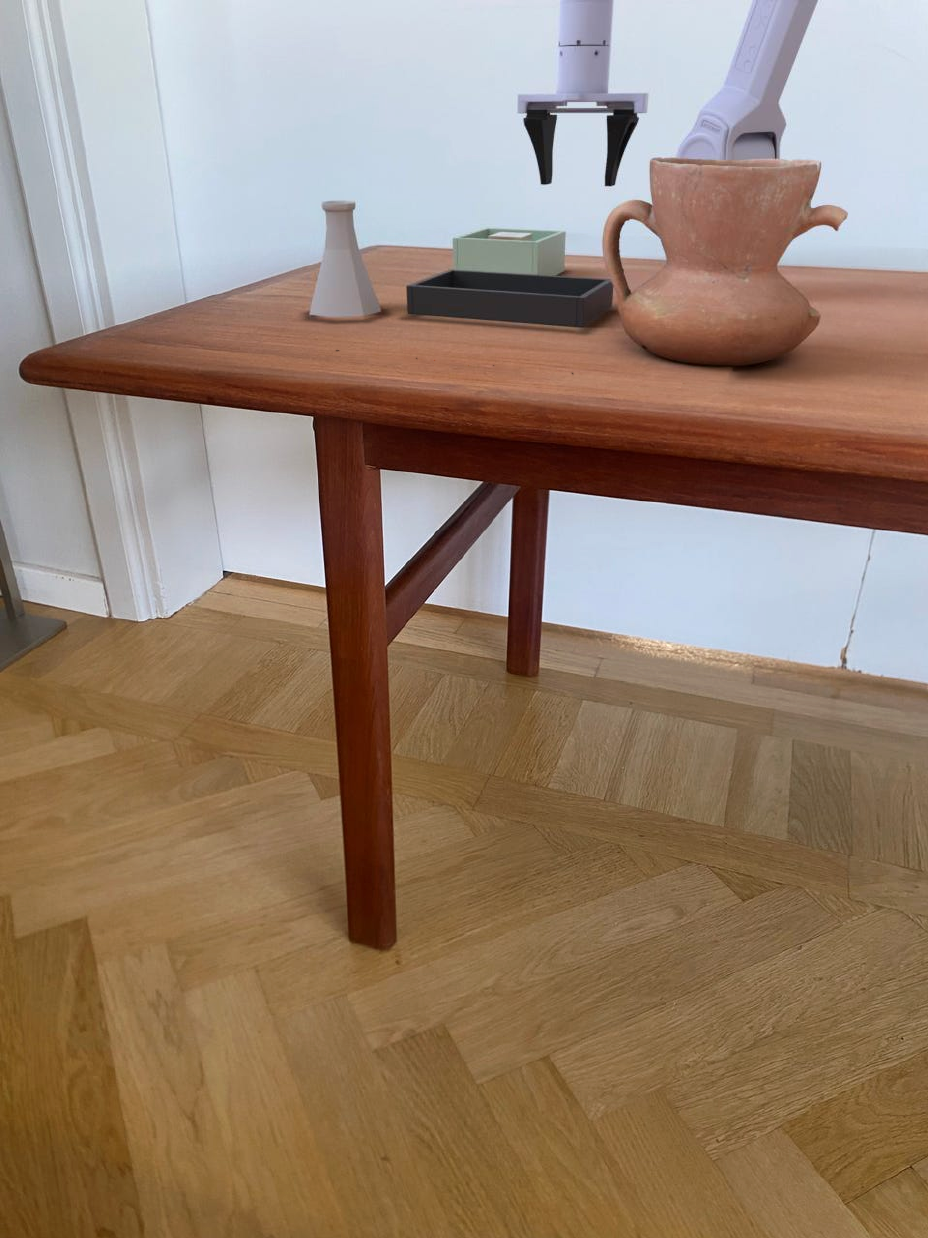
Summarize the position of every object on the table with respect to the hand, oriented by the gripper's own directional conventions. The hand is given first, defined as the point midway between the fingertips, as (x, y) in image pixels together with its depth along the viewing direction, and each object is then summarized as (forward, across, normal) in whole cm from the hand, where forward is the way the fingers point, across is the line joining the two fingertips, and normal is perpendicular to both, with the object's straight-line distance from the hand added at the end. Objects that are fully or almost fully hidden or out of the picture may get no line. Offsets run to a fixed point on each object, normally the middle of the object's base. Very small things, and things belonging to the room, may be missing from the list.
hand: (577, 184), depth 107 cm
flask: (+10, -13, -33) cm, 37 cm away
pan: (+9, +2, -28) cm, 29 cm away
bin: (+9, -6, -6) cm, 13 cm away
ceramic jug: (+10, +22, -37) cm, 44 cm away
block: (+9, -6, -6) cm, 12 cm away
